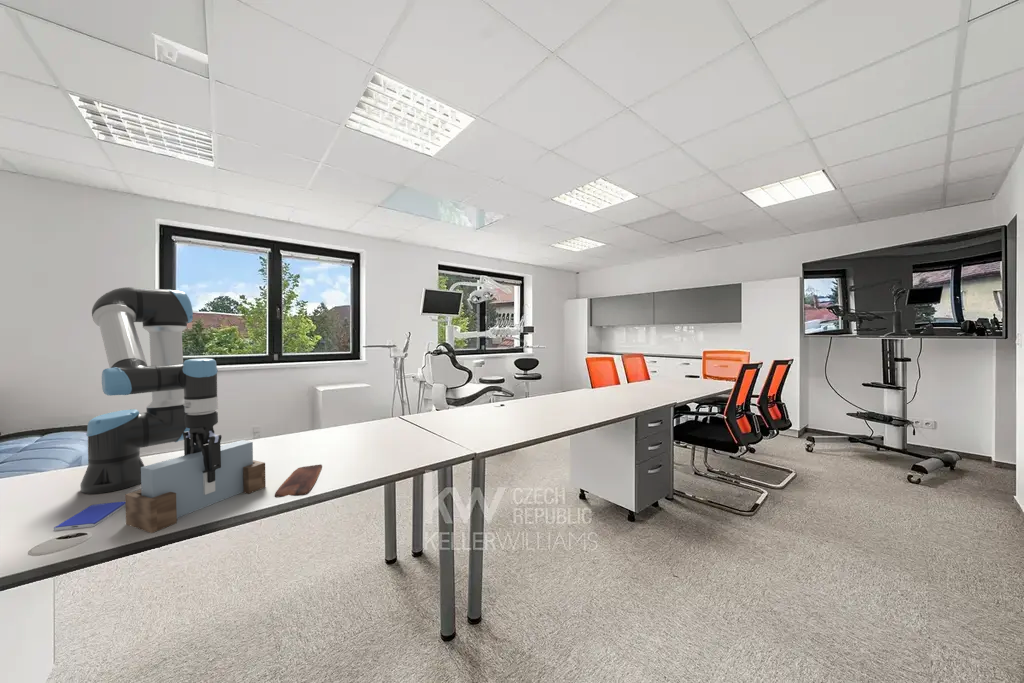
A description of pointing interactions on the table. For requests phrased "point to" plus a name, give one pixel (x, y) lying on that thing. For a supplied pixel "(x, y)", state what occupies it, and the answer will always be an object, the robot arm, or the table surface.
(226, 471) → the slate panel
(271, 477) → the table surface
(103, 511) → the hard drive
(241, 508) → the table surface
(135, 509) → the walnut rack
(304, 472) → the wooden tablet
